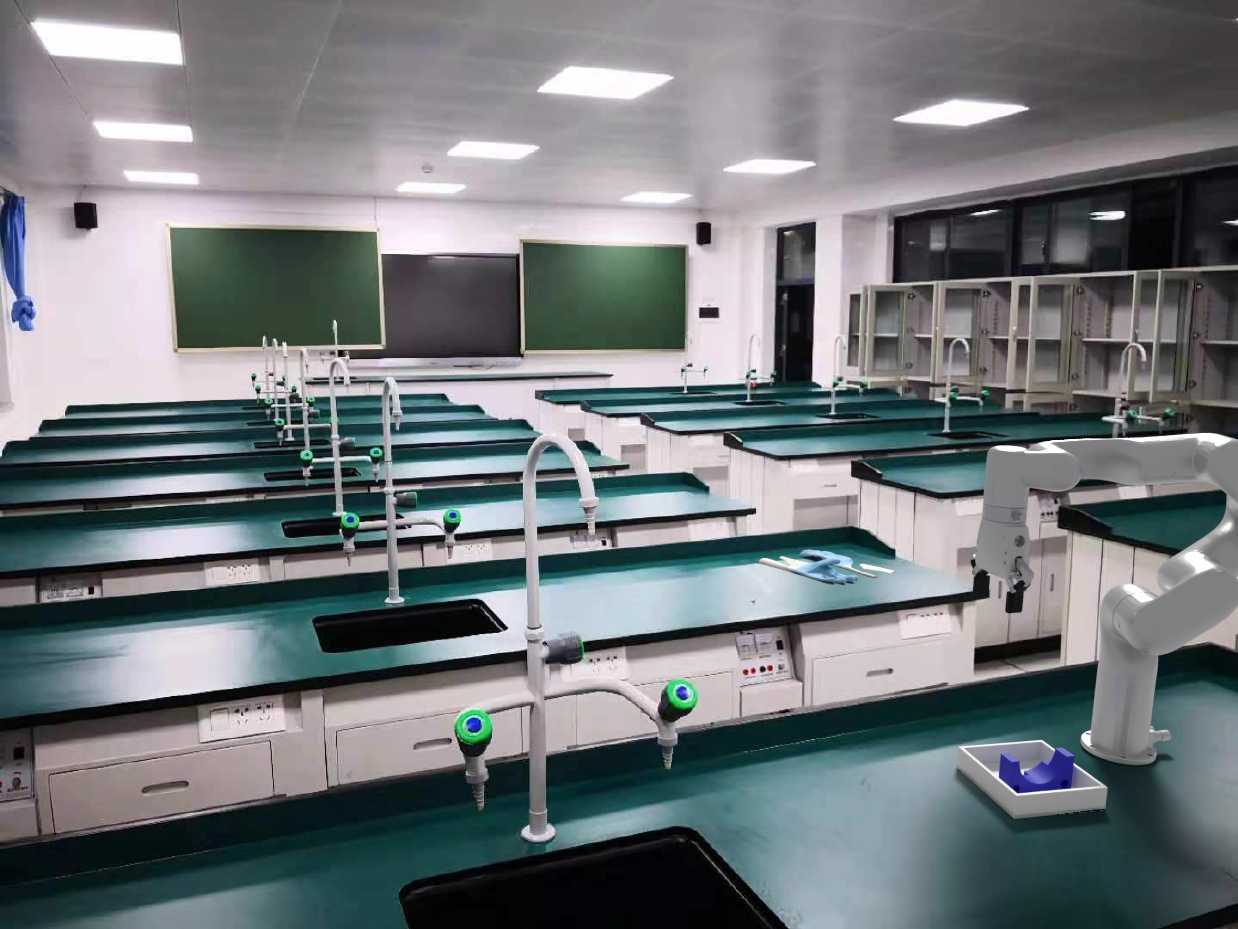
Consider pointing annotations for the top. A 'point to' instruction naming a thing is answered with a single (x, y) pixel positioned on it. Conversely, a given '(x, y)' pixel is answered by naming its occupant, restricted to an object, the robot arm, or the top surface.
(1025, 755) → the tray
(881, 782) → the top surface
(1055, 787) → the cable clip
